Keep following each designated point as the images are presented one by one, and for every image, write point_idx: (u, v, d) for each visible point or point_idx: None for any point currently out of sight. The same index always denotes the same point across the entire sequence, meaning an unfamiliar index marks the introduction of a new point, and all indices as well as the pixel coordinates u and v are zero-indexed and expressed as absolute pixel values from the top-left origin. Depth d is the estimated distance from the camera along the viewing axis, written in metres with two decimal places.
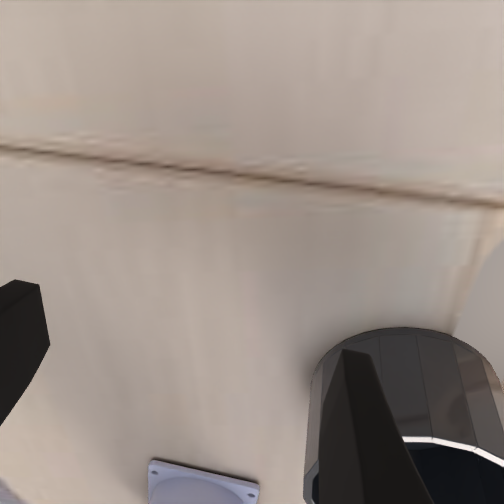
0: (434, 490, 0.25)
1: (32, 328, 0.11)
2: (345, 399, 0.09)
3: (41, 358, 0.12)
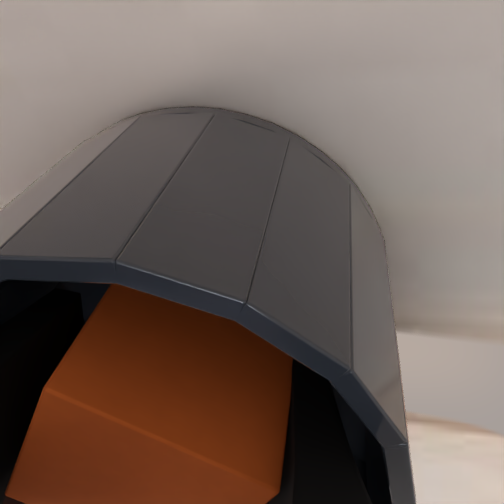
0: None
1: (73, 337, 0.11)
2: (291, 387, 0.09)
3: None
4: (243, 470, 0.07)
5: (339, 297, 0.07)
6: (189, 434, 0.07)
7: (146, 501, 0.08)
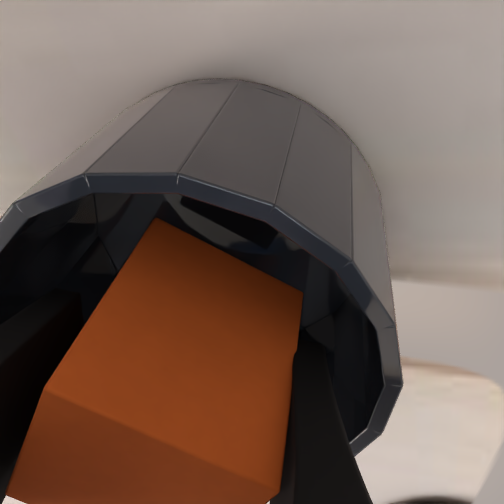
0: None
1: (73, 337, 0.11)
2: (292, 387, 0.09)
3: None
4: (243, 469, 0.07)
5: (342, 215, 0.09)
6: (189, 433, 0.07)
7: (146, 501, 0.08)
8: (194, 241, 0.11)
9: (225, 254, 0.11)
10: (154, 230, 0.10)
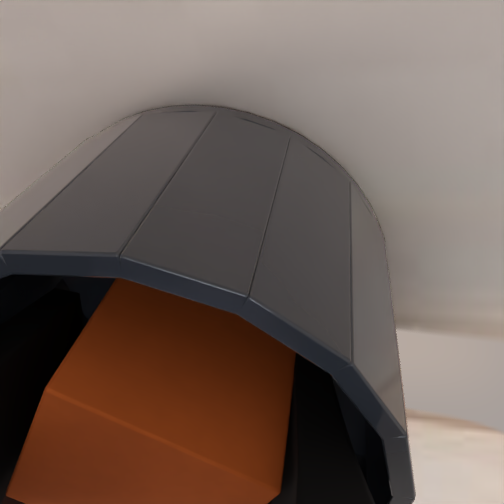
0: None
1: (72, 337, 0.11)
2: (293, 388, 0.09)
3: None
4: (245, 471, 0.07)
5: (339, 292, 0.07)
6: (190, 434, 0.07)
7: (146, 502, 0.08)
8: None
9: None
10: None
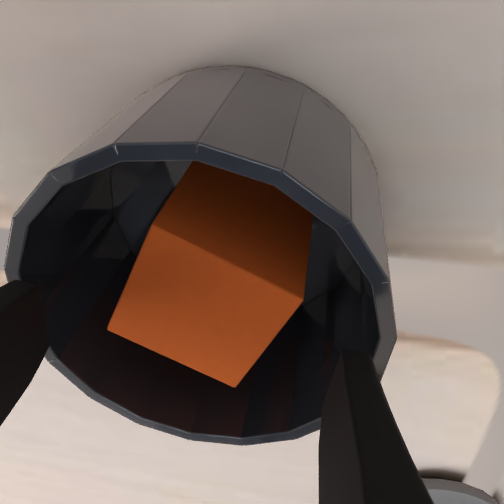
0: (113, 302, 0.16)
1: (32, 328, 0.11)
2: (345, 399, 0.09)
3: (41, 358, 0.12)
4: (279, 285, 0.11)
5: (342, 184, 0.10)
6: (243, 261, 0.11)
7: (210, 321, 0.12)
8: None
9: None
10: None
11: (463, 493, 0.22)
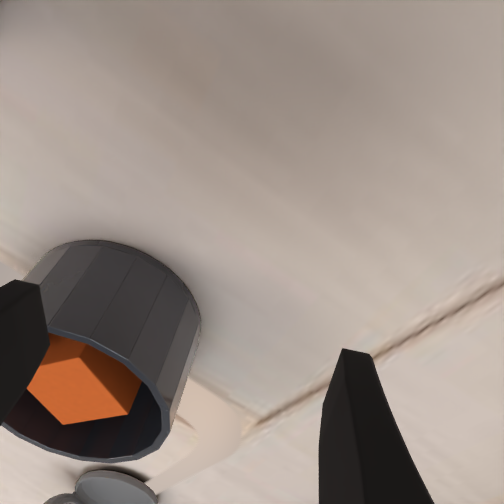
0: None
1: (32, 328, 0.11)
2: (345, 399, 0.09)
3: (41, 358, 0.12)
4: (121, 403, 0.22)
5: (175, 383, 0.21)
6: (111, 386, 0.21)
7: (75, 398, 0.22)
8: None
9: None
10: None
11: (142, 490, 0.36)
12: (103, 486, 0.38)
